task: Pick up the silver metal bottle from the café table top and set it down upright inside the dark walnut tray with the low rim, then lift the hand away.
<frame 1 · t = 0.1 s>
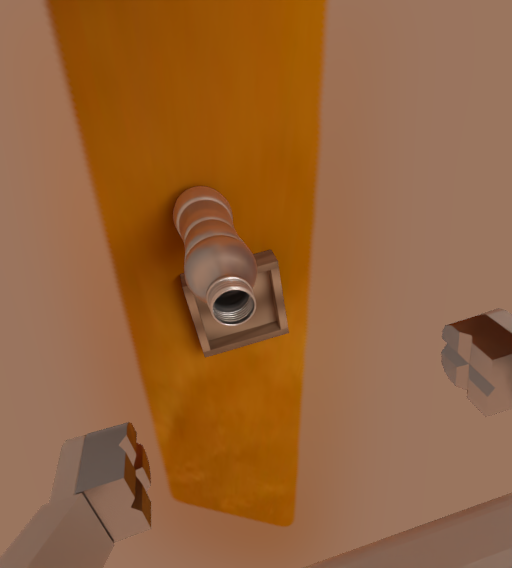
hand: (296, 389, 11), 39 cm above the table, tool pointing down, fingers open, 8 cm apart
silver metal bottle: (199, 207, 49), on the table
walnut tray: (234, 298, 57), on the table
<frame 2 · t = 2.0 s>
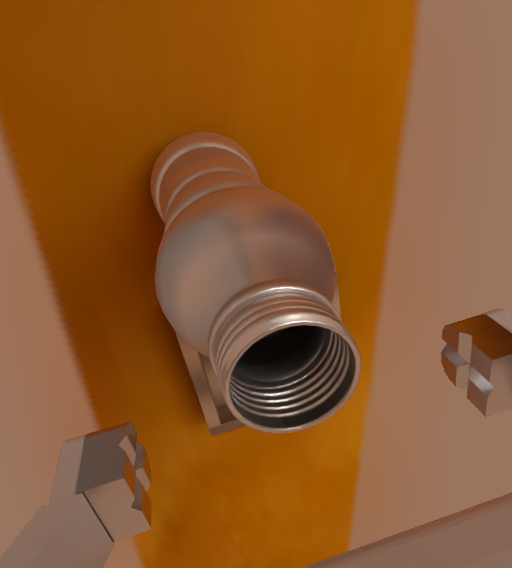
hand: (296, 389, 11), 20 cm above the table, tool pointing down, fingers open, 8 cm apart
silver metal bottle: (201, 177, 28), on the table
walnut tray: (260, 338, 35), on the table
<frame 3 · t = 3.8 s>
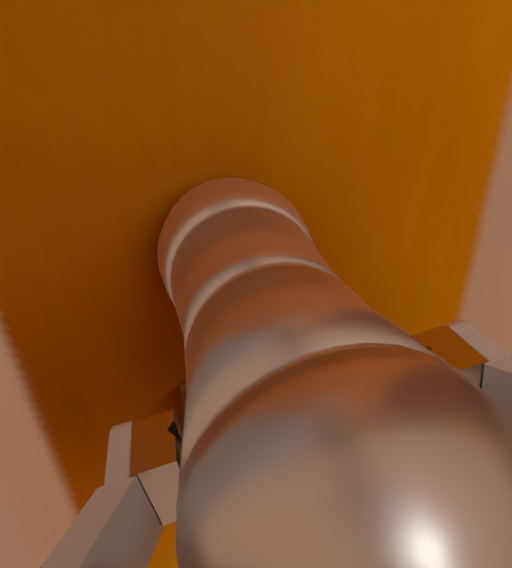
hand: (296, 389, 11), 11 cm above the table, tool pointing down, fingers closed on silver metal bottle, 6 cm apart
silver metal bottle: (225, 233, 20), on the table, touching gripper
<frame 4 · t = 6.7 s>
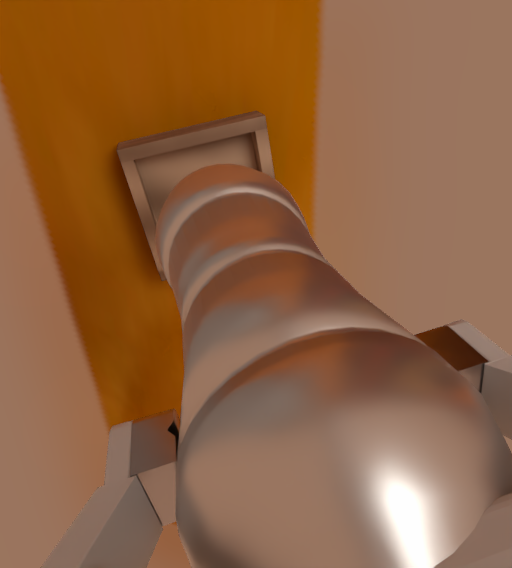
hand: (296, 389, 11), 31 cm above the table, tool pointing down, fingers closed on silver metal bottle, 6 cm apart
silver metal bottle: (221, 218, 21), point 18 cm above the table, touching gripper
walnut tray: (205, 193, 39), on the table
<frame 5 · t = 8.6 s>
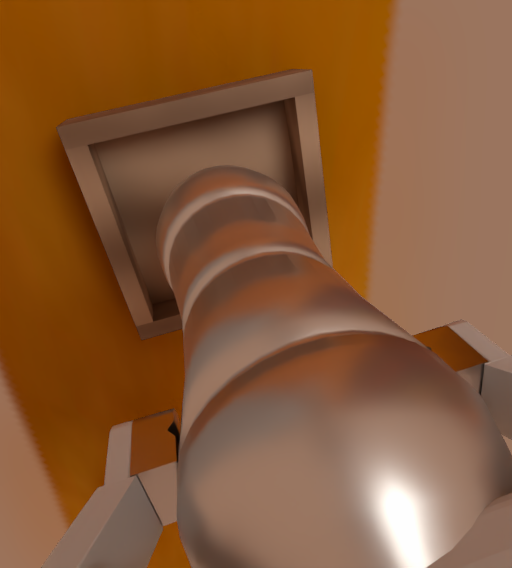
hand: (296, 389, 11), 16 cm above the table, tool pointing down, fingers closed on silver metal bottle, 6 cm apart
silver metal bottle: (222, 219, 21), point 4 cm above the table, touching gripper
walnut tray: (210, 202, 25), on the table
when the fingers open (14 cm above the table, at t = 9.9 s): silver metal bottle drops 2 cm, resting on walnut tray.
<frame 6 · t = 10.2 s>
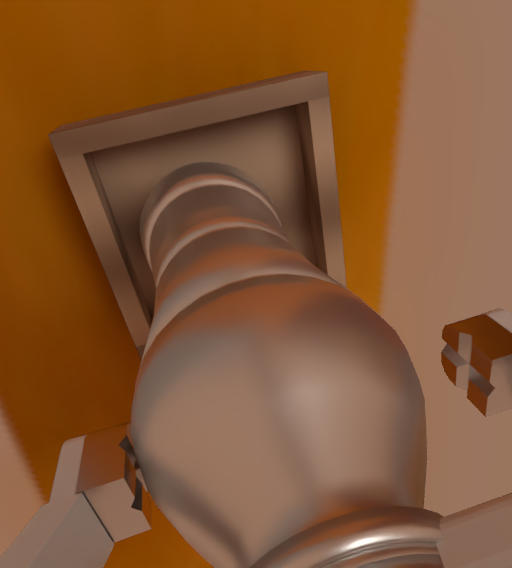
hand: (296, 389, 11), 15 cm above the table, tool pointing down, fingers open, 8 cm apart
silver metal bottle: (204, 215, 22), point 1 cm above the table, touching walnut tray
walnut tray: (215, 213, 23), on the table
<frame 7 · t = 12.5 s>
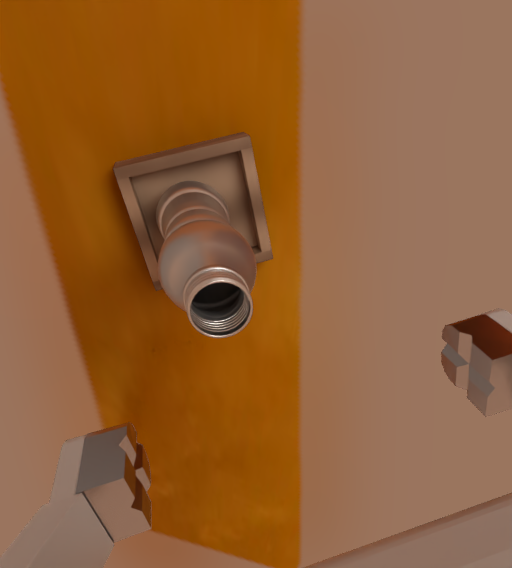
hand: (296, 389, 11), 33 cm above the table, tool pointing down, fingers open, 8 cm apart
silver metal bottle: (190, 209, 41), point 1 cm above the table, touching walnut tray
walnut tray: (197, 208, 41), on the table
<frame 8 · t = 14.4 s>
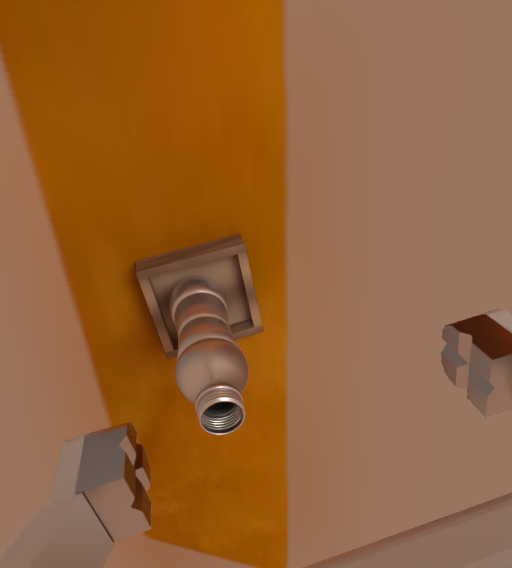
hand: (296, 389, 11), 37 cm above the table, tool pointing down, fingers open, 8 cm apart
silver metal bottle: (196, 294, 50), point 1 cm above the table, touching walnut tray
walnut tray: (201, 291, 51), on the table
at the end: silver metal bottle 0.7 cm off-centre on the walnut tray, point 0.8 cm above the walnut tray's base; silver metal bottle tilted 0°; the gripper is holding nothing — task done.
